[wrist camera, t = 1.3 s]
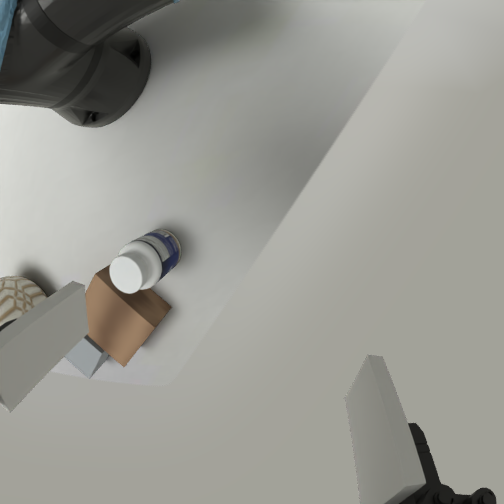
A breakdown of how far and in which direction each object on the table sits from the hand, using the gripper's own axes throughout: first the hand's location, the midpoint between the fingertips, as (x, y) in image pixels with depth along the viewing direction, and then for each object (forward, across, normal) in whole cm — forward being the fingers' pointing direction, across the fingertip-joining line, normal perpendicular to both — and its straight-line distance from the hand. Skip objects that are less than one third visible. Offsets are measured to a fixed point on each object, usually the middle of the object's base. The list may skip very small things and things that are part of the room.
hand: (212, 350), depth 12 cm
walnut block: (+23, -16, -15) cm, 32 cm away
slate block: (+23, -24, -23) cm, 40 cm away
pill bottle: (+23, -12, -5) cm, 27 cm away
